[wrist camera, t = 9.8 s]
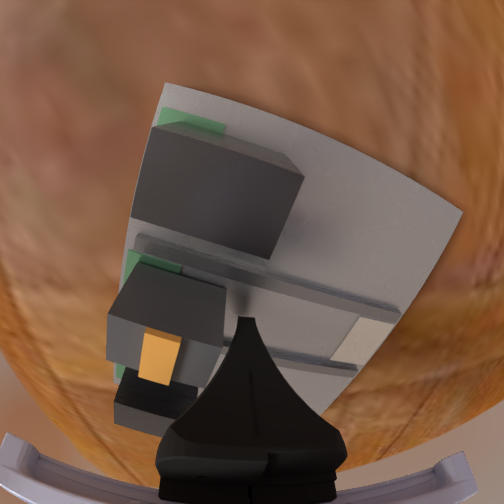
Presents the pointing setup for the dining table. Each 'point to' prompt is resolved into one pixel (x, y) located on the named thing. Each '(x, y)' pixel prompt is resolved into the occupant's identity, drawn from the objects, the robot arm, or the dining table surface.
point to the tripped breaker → (167, 326)
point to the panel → (322, 241)
